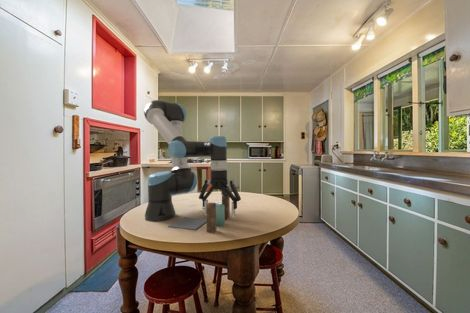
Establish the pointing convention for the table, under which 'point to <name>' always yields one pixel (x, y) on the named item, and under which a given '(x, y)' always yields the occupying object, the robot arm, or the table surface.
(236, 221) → the table surface
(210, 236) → the table surface
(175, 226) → the pad
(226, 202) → the frame
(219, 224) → the plug
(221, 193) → the dark grey bar
